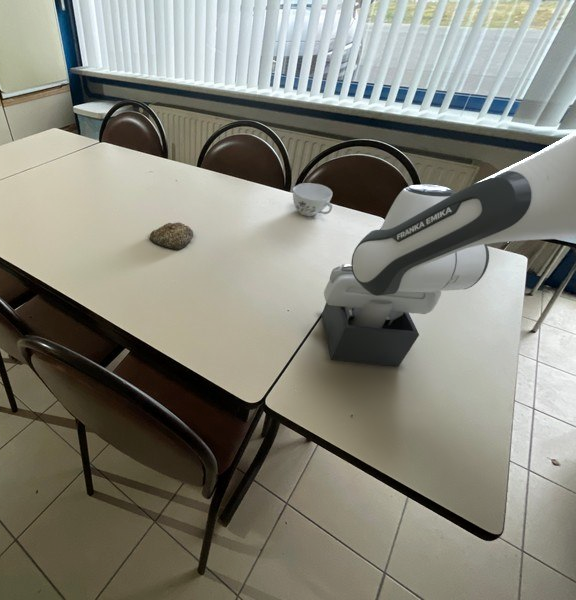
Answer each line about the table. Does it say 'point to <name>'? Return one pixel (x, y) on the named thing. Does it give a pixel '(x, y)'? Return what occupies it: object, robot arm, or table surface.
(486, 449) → the table surface
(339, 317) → the waste bin
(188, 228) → the speckled grey pebble
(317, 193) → the teacup
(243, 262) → the table surface
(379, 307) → the beverage can
